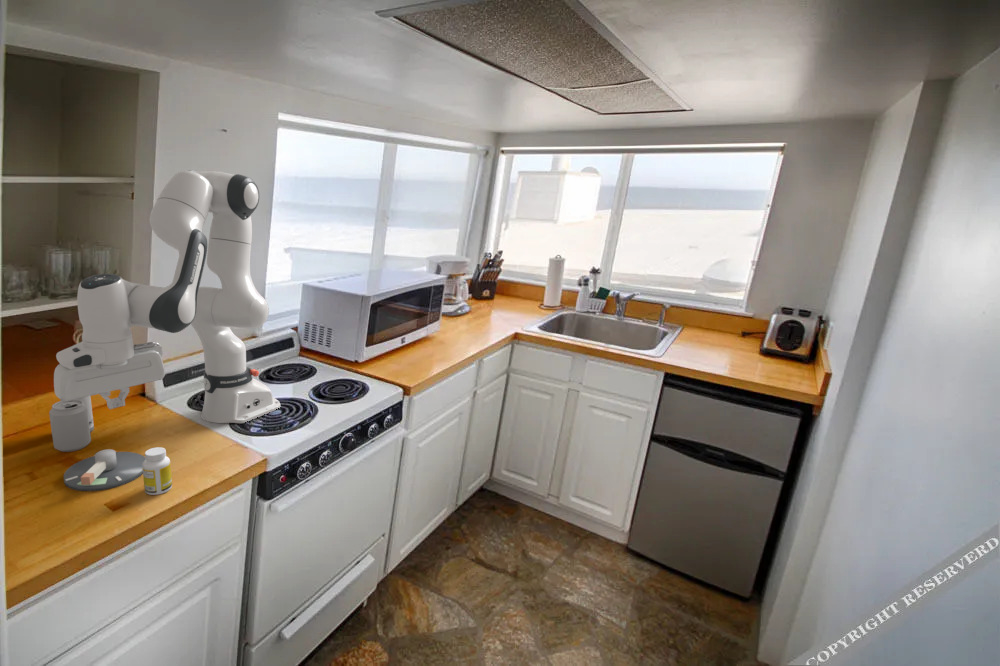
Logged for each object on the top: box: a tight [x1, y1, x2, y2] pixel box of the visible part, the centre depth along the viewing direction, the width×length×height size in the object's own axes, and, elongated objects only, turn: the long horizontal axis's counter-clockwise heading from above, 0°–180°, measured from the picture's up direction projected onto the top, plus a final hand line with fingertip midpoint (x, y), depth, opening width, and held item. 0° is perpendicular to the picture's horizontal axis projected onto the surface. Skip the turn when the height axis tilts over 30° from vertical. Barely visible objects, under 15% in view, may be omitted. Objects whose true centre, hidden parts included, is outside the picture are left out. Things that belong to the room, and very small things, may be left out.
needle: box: [81, 448, 117, 485], centre depth 122 cm, size 11×4×4 cm, turn 12°
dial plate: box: [63, 451, 146, 492], centre depth 126 cm, size 16×16×1 cm
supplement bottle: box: [142, 446, 173, 496], centre depth 121 cm, size 5×5×10 cm
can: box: [48, 399, 92, 453], centre depth 134 cm, size 8×8×12 cm
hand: (116, 406), depth 119 cm, fingers closed
